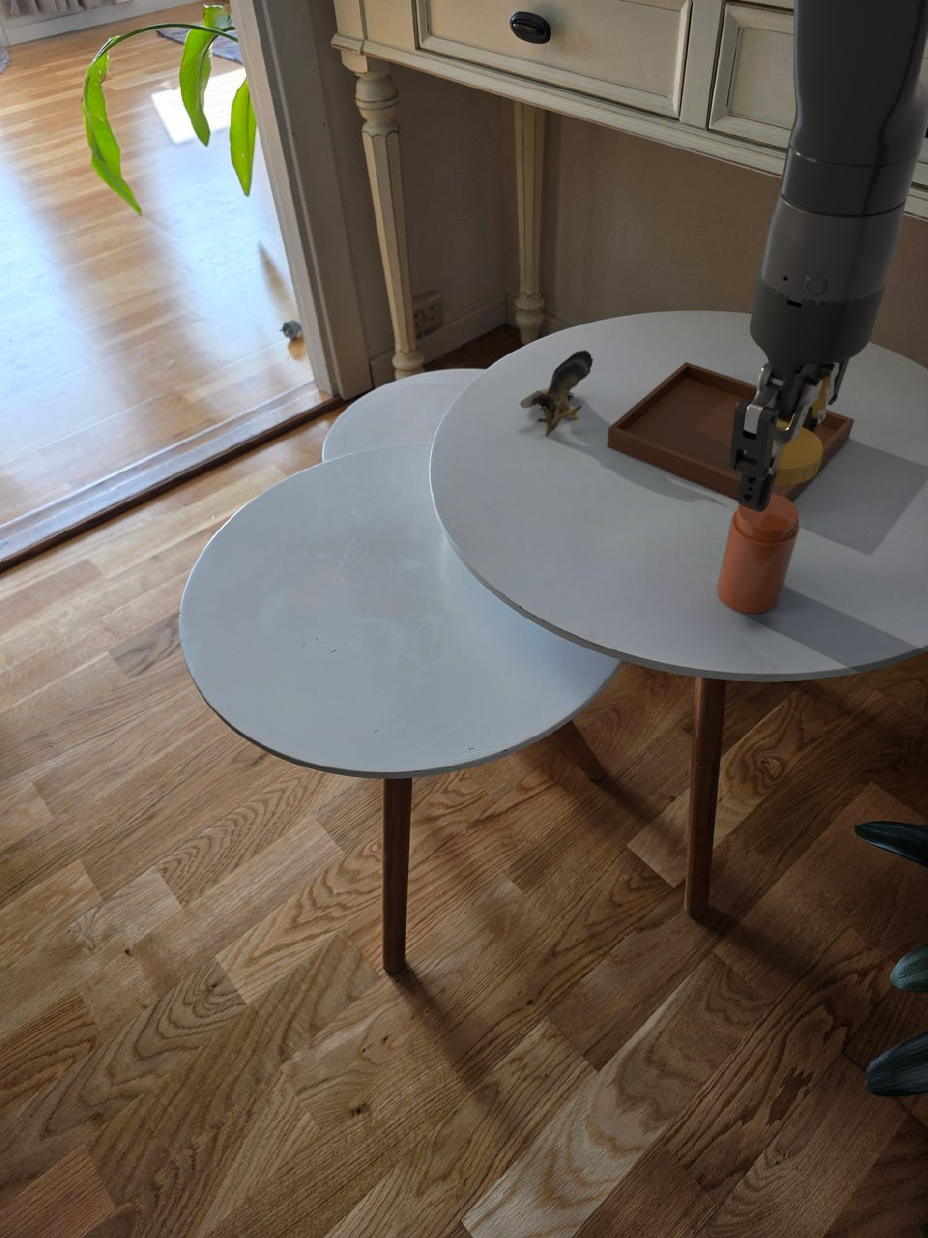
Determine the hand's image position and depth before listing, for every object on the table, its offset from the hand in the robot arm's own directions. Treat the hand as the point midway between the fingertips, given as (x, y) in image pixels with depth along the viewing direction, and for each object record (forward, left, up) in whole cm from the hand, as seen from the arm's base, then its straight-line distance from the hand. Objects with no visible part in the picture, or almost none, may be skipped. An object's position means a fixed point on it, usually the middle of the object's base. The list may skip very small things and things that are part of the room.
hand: (772, 482), depth 66 cm
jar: (0, 0, -12) cm, 12 cm away
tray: (+12, -18, -12) cm, 25 cm away
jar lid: (0, 0, +3) cm, 3 cm away
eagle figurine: (+29, -12, -12) cm, 34 cm away
